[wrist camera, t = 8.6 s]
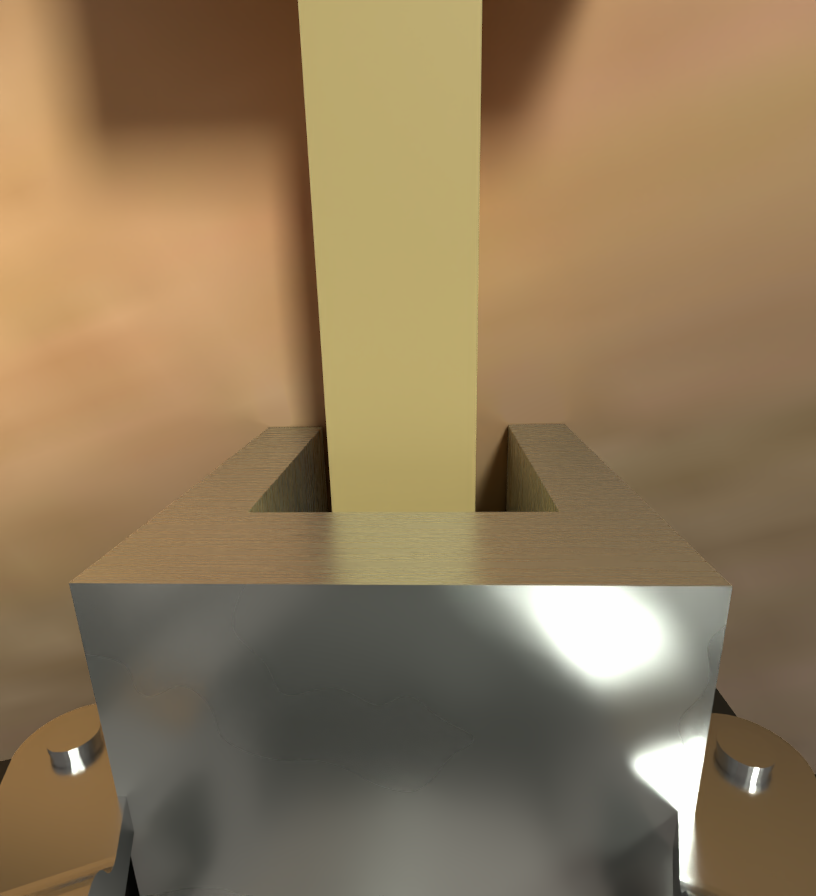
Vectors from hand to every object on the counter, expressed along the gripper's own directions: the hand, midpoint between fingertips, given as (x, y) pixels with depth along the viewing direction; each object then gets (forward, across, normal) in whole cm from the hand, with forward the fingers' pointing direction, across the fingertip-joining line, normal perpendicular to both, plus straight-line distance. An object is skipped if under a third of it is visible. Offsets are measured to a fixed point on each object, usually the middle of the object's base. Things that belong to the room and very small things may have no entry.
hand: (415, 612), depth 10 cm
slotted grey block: (+1, 0, 0) cm, 1 cm away
